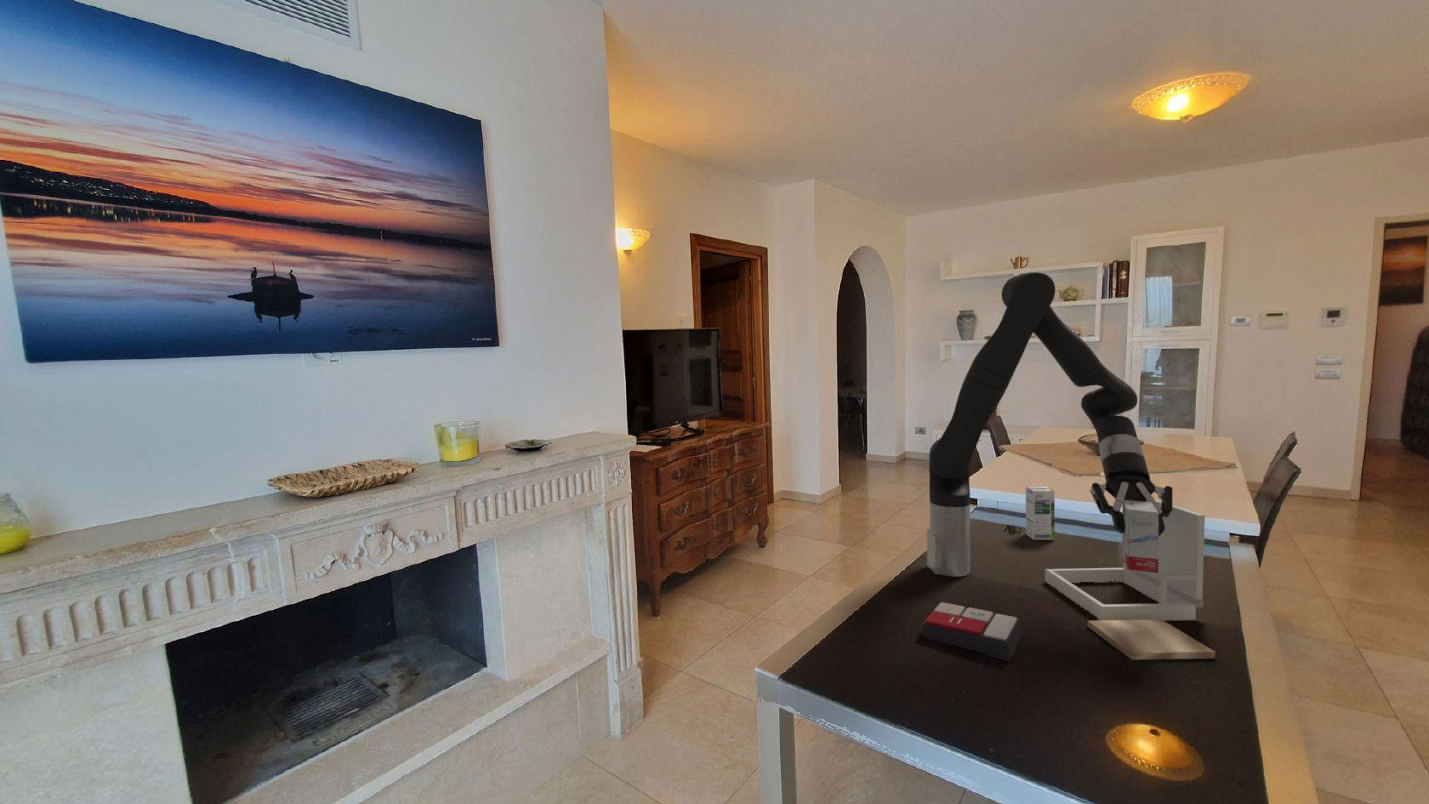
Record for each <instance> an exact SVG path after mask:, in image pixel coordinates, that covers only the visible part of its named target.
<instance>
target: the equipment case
mask: <svg viewBox="0 0 1429 804" xmlns="http://www.w3.org/2000/svg"><path fill="white" fill-rule="evenodd" d="M1154 499H1155V498H1154ZM1155 501H1156V504H1157V505H1158V506H1159V508H1161V500H1160V499H1155ZM1205 517H1206V516H1205V514H1202V513H1199V512H1195V511H1192V510H1190V509H1186V508H1184V507H1180V506H1178V505H1173V504H1172V511H1171V513H1170V514H1169V516H1168V517H1162V518H1163V522H1164V525H1165V530H1164V532H1163V533H1161V535H1160V536H1158V573H1153V572H1145V571H1137V570H1129V569H1128V568H1127V566H1126V563H1125V561H1124V560H1123V561H1124V562H1123V566H1122V567H1097V568H1095V567H1094V568H1092V567H1091V568H1089V567H1088V568H1046V569H1045V570H1044V571H1045V572H1044V573H1045V574H1044V575H1045V576H1044V577H1045V578H1044V582H1045V581H1046V582H1045V583H1046V584H1048V585H1049V584H1050V587H1052V588H1054V587H1055V588H1056V589H1057V590H1056V589H1055V588H1054V589H1055V590H1056V591H1058V593H1061V594H1062V593H1063V594H1062V595H1064V596H1065V597H1066V598H1068V599H1069V598H1070V600H1071V601H1072V602H1073V601H1074V602H1073V603H1075V604H1077V605H1078V604H1079V605H1080V606H1079V605H1078V606H1079V607H1081V608H1082V609H1083V608H1084V609H1083V610H1085V611H1086V610H1088V611H1089V612H1090V613H1089V612H1088V611H1087V612H1088V613H1089V614H1091V615H1092V614H1093V615H1094V616H1093V615H1092V616H1093V617H1095V616H1096V617H1097V618H1096V617H1095V618H1096V619H1097V620H1163V621H1165V622H1167V621H1196V614H1197V613H1196V608H1204V599H1203V591H1204V589H1203V585H1204V559H1205V558H1204V557H1205V556H1204V554H1205V553H1204V551H1205V521H1206V518H1205ZM1109 581H1112V582H1111V583H1123V584H1125V585H1127V586H1129V587H1130V588H1132V587H1133V589H1134V588H1135V589H1134V590H1136V591H1138V592H1140V593H1141V594H1143V595H1145V596H1147V597H1148V598H1150V599H1152V600H1154V601H1155V602H1157V603H1122V604H1121V603H1120V604H1119V603H1118V604H1117V603H1115V604H1112V603H1111V604H1110V603H1109V604H1106V603H1105V604H1104V603H1103V602H1101V601H1099V600H1098V599H1096V598H1095V597H1093V596H1092V595H1090V594H1088V593H1087V592H1085V591H1084V590H1082V589H1081V588H1079V587H1078V586H1077V585H1075V584H1081V583H1080V582H1094V583H1110V582H1109ZM1114 581H1116V582H1114ZM1118 581H1119V582H1118Z"/></svg>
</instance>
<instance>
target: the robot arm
mask: <svg viewBox="0 0 1429 804" xmlns="http://www.w3.org/2000/svg"><path fill="white" fill-rule="evenodd" d="M1001 290H1002V291H1001V300H1002V303H1003V304H1004V306H1005V307H1006V309H1005V311H1004V313H1003V316H1002V318H1001V320H1000V321H999V325H998V326H997V327H996V329H995V331H993V332H994V333H993V334H992V335H991V336H990V337H989V339H988V340H987V341H986V342H985V344H984V345H983V346H982V347H981V348H980V350H979V351H978V353H977V354H976V355H975V357H974V359H973V360H972V363H971V365H970V367H969V369H968V371H967V373H966V374H965V377H964V379H963V382H962V385H961V386H960V387H961V388H960V390H959V393H958V397H957V399H956V403H955V406H954V407H955V408H954V410H953V413H952V417H951V419H950V421H949V423H948V425H947V426H946V428H945V431H944V432H943V434H942V436H941V437H940V438H938V439H937V440H935V441H934V442H933V444H932V445H931V447H930V449H929V452H928V453H929V456H928V458H929V459H928V460H929V468H928V469H929V470H928V471H929V484H928V485H929V486H928V487H929V529H927V530H926V544H927V545H926V555H927V556H926V557H927V558H926V564H927V565H926V567H928V568H929V570H930V571H932V572H933V574H935V575H937V576H938V575H939V576H945V577H954V578H956V577H957V578H959V577H965V576H968V575H969V574H970V573H971V489H970V466H971V463H972V460H973V457H974V454H975V450H976V448H977V446H978V442H979V440H980V438H981V435H982V433H983V431H984V429H985V428H986V425H987V424H988V422H989V420H990V419H991V417H992V416H993V414H994V412H995V411H996V409H997V407H998V406H999V405H1000V404H999V403H1000V402H1001V401H1002V398H1003V397H1004V394H1005V393H1006V392H1007V391H1006V390H1007V389H1008V387H1009V386H1010V383H1011V381H1012V378H1013V377H1014V374H1015V372H1016V370H1017V367H1018V366H1019V363H1020V361H1021V359H1022V356H1023V355H1024V352H1025V350H1026V347H1027V345H1028V343H1029V341H1030V339H1031V337H1032V335H1033V334H1034V335H1035V336H1036V338H1038V339H1039V341H1040V342H1041V343H1042V344H1043V345H1044V347H1045V348H1046V350H1048V352H1049V353H1050V354H1051V355H1052V357H1053V358H1054V360H1055V361H1056V362H1057V364H1058V366H1060V368H1061V369H1062V370H1063V372H1064V373H1065V374H1066V376H1067V377H1068V379H1069V380H1070V381H1071V382H1072V383H1073V385H1075V386H1076V387H1078V388H1085V387H1090V386H1100V388H1097V389H1095V390H1092V391H1090V392H1089V391H1088V392H1087V393H1086V394H1084V395H1083V397H1082V398H1081V401H1080V407H1081V409H1082V410H1083V412H1084V413H1085V415H1086V416H1087V418H1088V419H1089V420H1090V422H1091V424H1092V426H1093V428H1094V429H1095V431H1096V437H1097V440H1098V445H1099V456H1100V459H1099V460H1100V462H1101V465H1102V470H1103V474H1104V479H1105V483H1103V484H1099V483H1098V482H1093V483H1092V485H1091V487H1090V490H1089V492H1090V493H1091V496H1092V498H1093V500H1094V503H1095V504H1096V507H1097V509H1098V510H1099V512H1100V514H1108V515H1110V516H1111V519H1112V524H1113V528H1114V530H1116V531H1118V533H1119V534H1122V533H1124V531H1125V523H1124V519H1123V511H1121V509H1122V507H1123V500H1132V501H1141V502H1151V503H1152V504H1153V505H1154V507H1155V508H1156V510H1157V512H1158V513H1159V523H1158V536H1160V535H1161V533H1163V532H1164V530H1165V525H1164V522H1163V518H1162V517H1168V516H1169V514H1170V513H1171V511H1172V505H1173V487H1172V486H1170V485H1166V486H1165V487H1163V486H1161V487H1160V486H1156V485H1155V484H1154V483H1153V481H1152V480H1151V477H1150V476H1151V475H1150V473H1149V469H1148V466H1147V462H1146V459H1145V458H1146V457H1145V454H1144V452H1143V448H1142V446H1141V444H1140V441H1139V439H1138V435H1137V431H1136V427H1135V424H1134V423H1133V421H1132V420H1131V419H1130V418H1129V417H1127V416H1123V415H1120V414H1124V413H1126V412H1129V411H1131V410H1134V409H1135V407H1136V406H1137V404H1138V395H1137V393H1136V391H1135V390H1134V389H1133V388H1132V386H1130V385H1129V384H1128V383H1126V382H1125V381H1124V380H1123V379H1121V378H1119V376H1117V375H1115V374H1114V373H1112V372H1111V371H1110V369H1108V368H1107V367H1106V366H1105V365H1104V364H1103V363H1102V362H1101V361H1100V360H1099V358H1098V357H1097V355H1096V354H1095V353H1094V351H1093V350H1092V349H1091V346H1089V345H1088V344H1087V343H1086V341H1084V340H1083V338H1081V337H1080V336H1079V335H1078V334H1077V333H1076V332H1075V331H1073V330H1072V329H1071V328H1070V327H1069V326H1068V325H1067V324H1066V323H1065V322H1064V321H1063V320H1062V319H1061V318H1060V317H1059V316H1058V315H1057V313H1056V312H1055V311H1054V310H1053V308H1052V306H1051V305H1052V303H1053V301H1054V298H1055V294H1056V285H1055V282H1054V279H1052V277H1051V276H1050V275H1048V274H1047V273H1045V272H1041V271H1031V272H1025V273H1021V274H1017V275H1014V276H1012V277H1011V278H1009V279H1008V280H1007V281H1006V282H1005V283H1004V284H1003V287H1002V289H1001ZM1106 492H1107V493H1108V494H1110V496H1112V497H1113V498H1114V501H1113V504H1112V505H1111V504H1109V501H1108V500H1107V497H1106V496H1105V493H1106ZM1153 493H1156V494H1157V498H1158V499H1159V500H1160V499H1161V500H1160V501H1161V508H1159V506H1158V505H1157V504H1156V501H1155V498H1154V497H1153Z"/></svg>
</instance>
